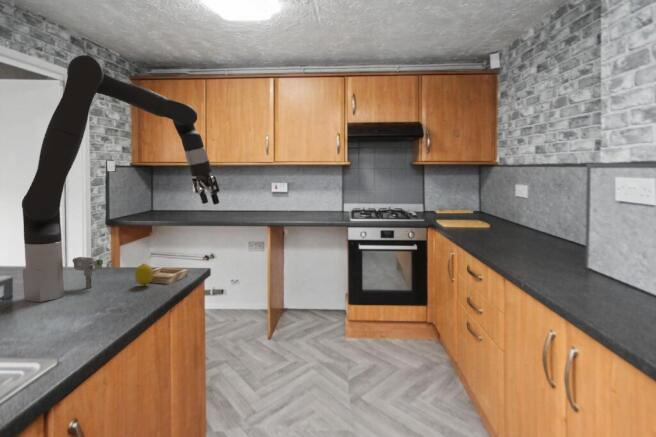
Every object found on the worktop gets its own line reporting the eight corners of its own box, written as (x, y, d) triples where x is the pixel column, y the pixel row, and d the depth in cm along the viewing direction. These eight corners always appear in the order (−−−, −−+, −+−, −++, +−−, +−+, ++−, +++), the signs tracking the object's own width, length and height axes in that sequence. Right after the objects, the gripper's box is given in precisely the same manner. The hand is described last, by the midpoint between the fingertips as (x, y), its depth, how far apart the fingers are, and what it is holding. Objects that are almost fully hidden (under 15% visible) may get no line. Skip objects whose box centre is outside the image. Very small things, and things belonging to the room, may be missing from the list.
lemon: (135, 289, 133) (135, 265, 132) (135, 285, 138) (134, 262, 137) (153, 287, 135) (153, 264, 134) (152, 283, 140) (152, 261, 139)
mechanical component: (98, 290, 131) (97, 260, 129) (72, 287, 133) (70, 258, 132) (105, 287, 133) (104, 258, 132) (79, 285, 135) (78, 256, 134)
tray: (168, 283, 140) (168, 277, 140) (139, 281, 142) (138, 274, 142) (188, 275, 152) (187, 269, 151) (160, 273, 154) (160, 267, 154)
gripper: (180, 165, 148) (193, 206, 153) (198, 163, 138) (211, 207, 143) (198, 160, 153) (210, 200, 158) (216, 158, 143) (229, 200, 147)
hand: (211, 203), depth 150 cm, fingers open, 8 cm apart
